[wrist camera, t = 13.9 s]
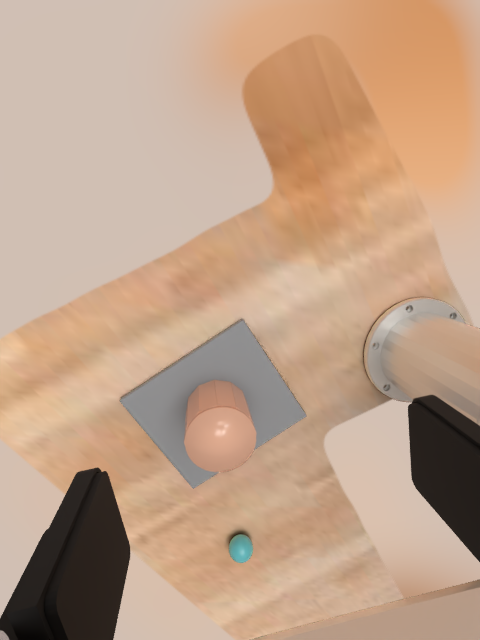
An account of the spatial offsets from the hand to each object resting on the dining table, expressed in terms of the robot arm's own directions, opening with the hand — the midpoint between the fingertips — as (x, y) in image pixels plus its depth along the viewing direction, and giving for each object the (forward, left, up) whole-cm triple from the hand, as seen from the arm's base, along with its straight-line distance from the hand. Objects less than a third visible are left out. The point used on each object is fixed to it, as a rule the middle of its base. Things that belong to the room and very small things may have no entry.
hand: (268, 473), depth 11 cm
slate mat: (-2, +12, -28) cm, 31 cm away
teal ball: (-8, +30, -28) cm, 42 cm away
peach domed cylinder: (-2, +12, -28) cm, 30 cm away
